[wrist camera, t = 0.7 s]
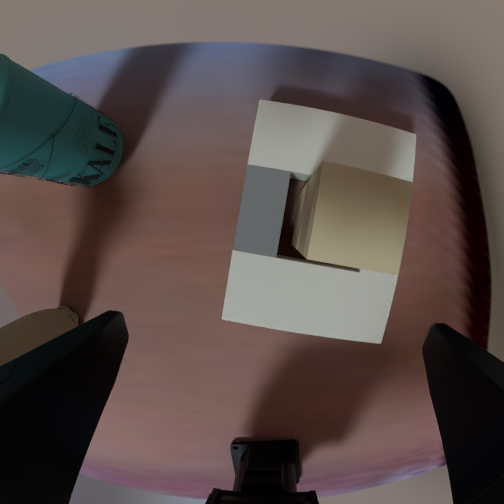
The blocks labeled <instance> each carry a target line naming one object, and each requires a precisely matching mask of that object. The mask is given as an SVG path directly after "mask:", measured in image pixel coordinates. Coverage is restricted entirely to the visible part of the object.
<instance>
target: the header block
mask: <svg viewBox="0 0 504 504" xmlns="http://www.w3.org/2000/svg"><path fill="white" fill-rule="evenodd" d="M415 148H416V134H413V133H410V132H407V131H404V130H400V129H397V128H394V127H390V126H387V125H383V124H379V123H376V122H372V121H368V120H364V119H360V118H356V117H352V116H348V115H344V114H339V113H335V112H330V111H325V110H320V109H315V108H310V107H304V106H299V105H293V104H287V103H281V102H274V101H267V100H259V105H258V111H257V116H256V121H255V127H254V132H253V138H252V143H251V149H250V154H249V160H248V165H247V171H246V176H245V182H244V188H243V194H242V199H241V205H240V211H239V217H238V223H237V228H236V234H235V240H234V246H233V252H232V258H231V264H230V271H229V277H228V283H227V289H226V295H225V302H224V308H223V314H222V319H223V320H228V321H233V322H238V323H244V324H249V325H255V326H260V327H266V328H272V329H277V330H283V331H290V332H296V333H302V334H309V335H316V336H322V337H330V338H337V339H344V340H352V341H360V342H369V343H378V344H381V342H382V338H383V335H384V331H385V327H386V324H387V320H388V316H389V312H390V308H391V304H392V300H393V296H394V291H395V287H396V282H397V278H398V275H392V274H387V273H381V272H375V271H370V270H364V269H359V268H353V267H346V266H340V265H334V264H329V263H323V262H318V261H312V260H306V259H301V258H295V257H289V256H284V255H278V254H277V250H278V245H279V239H280V233H281V228H282V222H283V216H284V210H285V204H286V198H287V192H288V186H289V180H290V178H291V179H297V180H302V181H307V182H308V181H309V179H310V178H311V176H312V175H313V174H314V172H315V171H316V170H317V168H318V167H319V165H320V164H321V163H322V161H327V162H332V163H337V164H342V165H346V166H351V167H355V168H359V169H364V170H368V171H372V172H376V173H380V174H384V175H388V176H392V177H396V178H399V179H403V180H407V181H410V182H412V183H413V173H414V162H415ZM411 192H412V191H411ZM410 201H411V200H410ZM408 216H409V215H408ZM407 223H408V222H407ZM406 229H407V228H406ZM403 247H404V246H403ZM402 253H403V252H402ZM401 258H402V257H401ZM398 273H399V272H398Z"/></svg>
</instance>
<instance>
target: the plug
mask: <svg viewBox="0 0 504 504" xmlns="http://www.w3.org/2000/svg"><path fill="white" fill-rule="evenodd" d="M411 191H412V182H410V181H407V180H403V179H399V178H396V177H392V176H388V175H384V174H380V173H376V172H372V171H368V170H364V169H359V168H355V167H351V166H346V165H342V164H337V163H332V162H327V161H322V163H321V164H320V165H319V167H318V168H317V170H316V171H315V172H314V174H313V175H312V176H311V178H310V179H309V181H308V182H307V183H306V185H305V186H304V187H303V189H302V190H301V192H300V193H299V199H298V205H297V211H296V217H295V223H294V229H293V235H292V240H291V244H292V245H293V246H294V247H295V248H296V249H297V250H298V251H299V252H300V253H301V254H302V255H303V256H304V257H305V258H306V259H308V260H314V261H319V262H325V263H331V264H336V265H342V266H347V267H353V268H359V269H364V270H370V271H375V272H381V273H387V274H392V275H398V272H399V268H400V263H401V257H402V252H403V246H404V241H405V235H406V228H407V222H408V215H409V208H410V200H411Z"/></svg>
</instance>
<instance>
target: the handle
mask: <svg viewBox="0 0 504 504" xmlns="http://www.w3.org/2000/svg"><path fill="white" fill-rule="evenodd" d="M78 319H79V317H78V315H77V314H76V313H74V312H72V311H71V310H70V309H69V307H68V306H59V307H58V308H54V309H46V310H41V311H38V312H34V313H31V314H29V315H26V316H24V317H21V318H19V319H17V320H15V321H14V322H11V323H9V324H7V325H6V326H3V327H2V328H0V366H1V365H3V364H5V363H7V362H9V361H11V360H13V359H15V358H19V356H21V355H23V354H25V353H27V352H29V351H31V350H33V349H34V348H36V347H38V346H40V345H42V344H44V343H46V342H48V341H50V340H52V339H54V338H56V337H58V336H60V335H62V334H64V333H65V332H67V331H69V330H71V329H73V328H75V327H77V326H79V324H78Z"/></svg>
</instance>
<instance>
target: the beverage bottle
mask: <svg viewBox="0 0 504 504" xmlns="http://www.w3.org/2000/svg"><path fill="white" fill-rule="evenodd" d="M71 94H73V93H71ZM71 94H68V93H66V92H64V91H62V90H61V89H59V88H57V87H56V86H54V85H53V84H51V83H49V82H48V81H46V80H44V79H42V78H41V77H39V76H37V75H36V74H34V73H32V72H31V71H29V70H27V69H25V68H24V67H22V66H20V65H19V64H17V63H15V62H13V61H12V60H10V59H9V58H8V57H7V56H6V55H4V54H0V171H2V172H3V171H4V172H10V173H9V174H12V175H13V174H14V176H16V175H15V174H21V175H27V176H32V177H38V178H39V179H41V178H43V179H46V181H47V180H49V181H50V182H52V181H53V180H54V181H53V183H54V182H56V181H59V182H62V183H60V184H63V183H69V184H72V185H74V186H75V185H76V186H77V185H80V186H92V187H93V185H95V186H96V184H97V185H98V184H100V183H101V182H103V181H105V180H106V179H107V178H108V177H109V176H110V175H111V174H112V173H113V172H114V171H115V169H116V168H117V166H118V164H119V162H120V159H121V156H122V152H123V138H122V134H121V132H120V131H121V130H119V128H118V126H117V125H116V124H115V123H116V122H115V123H114V122H113V120H114V119H113V120H112V119H111V120H110V118H111V117H110V118H107V117H106V116H105V115H106V114H105V113H99V111H97V110H96V109H94V107H93V106H92V107H91V106H89V105H88V104H85V102H82V100H79V98H78V99H77V97H74V96H72V95H71ZM75 96H76V95H75ZM98 110H99V109H98ZM0 174H1V172H0ZM2 174H6V175H7V173H2ZM9 174H8V175H9ZM19 176H20V175H18V177H19ZM23 177H25V176H23ZM25 178H26V177H25ZM30 179H31V178H30ZM39 179H38V180H39ZM41 180H42V179H41ZM42 181H44V180H42ZM49 181H47V182H49ZM59 182H57V183H59ZM65 185H68V184H65ZM70 186H71V185H70ZM76 186H75V187H76ZM88 188H89V187H88Z"/></svg>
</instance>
